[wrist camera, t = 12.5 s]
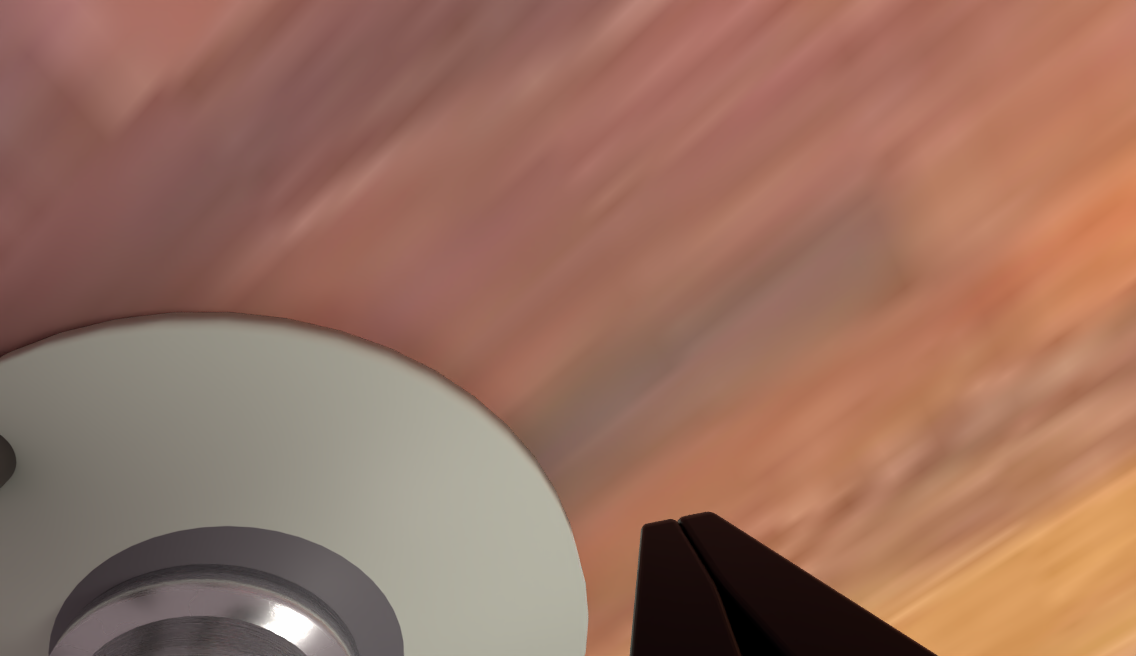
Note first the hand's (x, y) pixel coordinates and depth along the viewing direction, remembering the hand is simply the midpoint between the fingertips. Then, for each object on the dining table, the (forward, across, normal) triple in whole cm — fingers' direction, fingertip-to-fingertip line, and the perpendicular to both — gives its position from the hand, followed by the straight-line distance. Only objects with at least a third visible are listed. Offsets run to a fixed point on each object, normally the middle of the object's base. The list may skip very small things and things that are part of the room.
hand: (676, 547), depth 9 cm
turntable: (+12, +10, +10) cm, 18 cm away
